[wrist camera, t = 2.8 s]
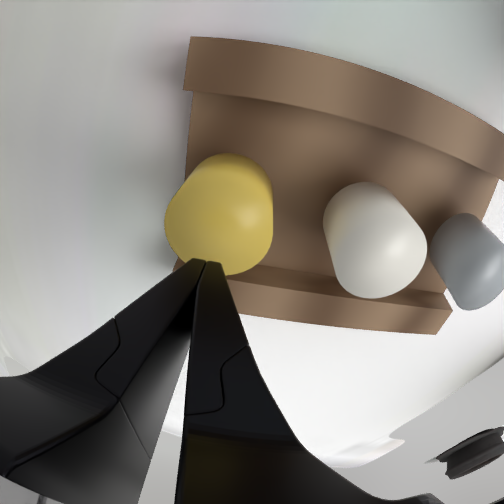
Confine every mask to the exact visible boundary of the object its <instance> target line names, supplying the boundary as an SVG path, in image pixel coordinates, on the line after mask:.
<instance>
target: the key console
mask: <svg viewBox="0 0 504 504" xmlns="http://www.w3.org/2000/svg"><path fill="white" fill-rule="evenodd" d="M183 90H186V91H193V99H192V108H191V116H190V126H189V135H188V146H187V157H186V170H185V181H186V180H187V178H188V177H189V176H190V174H191V173H192V172H193V171H194V169H195V168H196V167H197V166H198V165H199V164H200V163H201V162H202V161H204V160H205V159H207V158H209V157H211V156H214V155H217V154H222V153H234V154H239V155H243V156H246V157H248V158H250V159H252V160H253V161H255V162H256V163H258V164H259V165H260V166H261V167H262V168H263V169H264V171H265V172H266V173H267V175H268V177H269V179H270V181H271V184H272V188H273V237H272V242H271V245H270V248H269V250H268V252H267V253H266V255H265V256H264V258H263V259H262V260H261V261H260V262H259V263H258V264H256V265H255V266H254V267H252V268H250V269H248V270H246V271H244V272H241V273H238V274H233V275H225V276H226V279H227V282H228V285H229V288H230V291H231V294H232V297H233V300H234V302H235V305H236V308H237V311H238V313H239V314H246V315H252V316H258V317H265V318H272V319H279V320H286V321H293V322H301V323H309V324H317V325H325V326H334V327H343V328H353V329H363V330H374V331H386V332H399V333H414V334H431V335H436V334H437V332H438V331H439V330H440V328H441V327H442V325H443V324H444V323H445V321H446V320H447V318H448V317H449V316H450V314H451V313H452V311H453V310H452V308H451V306H450V305H449V303H448V301H447V299H446V297H445V296H444V294H443V293H444V291H445V290H446V288H447V287H446V285H445V283H444V282H443V280H442V279H441V277H440V275H439V274H438V272H437V271H436V269H435V267H434V266H433V264H432V263H431V260H430V254H429V253H430V245H431V242H432V239H433V237H434V235H435V233H436V232H437V230H438V229H439V227H440V226H441V225H442V224H443V223H444V222H445V221H446V220H448V219H449V218H451V217H452V216H454V215H457V214H460V213H470V214H473V215H475V216H476V217H477V218H478V219H479V220H480V221H481V222H482V219H483V217H484V215H485V213H486V210H487V208H488V206H489V203H490V201H491V198H492V196H493V193H494V191H495V188H496V185H497V183H498V180H499V179H501V180H502V181H504V134H503V133H502V132H500V131H499V130H497V129H496V128H494V127H493V126H491V125H489V124H488V123H486V122H484V121H483V120H481V119H479V118H478V117H476V116H474V115H472V114H471V113H469V112H467V111H465V110H464V109H462V108H460V107H458V106H456V105H454V104H452V103H450V102H448V101H446V100H444V99H442V98H440V97H438V96H436V95H434V94H432V93H430V92H427V91H425V90H423V89H421V88H419V87H416V86H414V85H412V84H409V83H407V82H404V81H402V80H399V79H397V78H394V77H392V76H389V75H386V74H383V73H381V72H378V71H375V70H372V69H369V68H366V67H363V66H360V65H357V64H354V63H350V62H347V61H343V60H340V59H336V58H333V57H329V56H325V55H321V54H317V53H313V52H308V51H304V50H299V49H294V48H289V47H284V46H278V45H273V44H266V43H260V42H252V41H244V40H235V39H225V38H212V37H191V38H190V44H189V50H188V57H187V64H186V71H185V79H184V86H183ZM359 182H372V183H376V184H379V185H381V186H383V187H385V188H386V189H388V190H389V191H390V192H391V193H392V194H393V195H394V196H395V198H396V199H397V200H398V201H399V202H400V203H401V205H402V206H403V207H404V208H405V210H406V211H407V212H408V213H409V214H410V216H411V217H412V218H413V219H414V221H415V222H416V223H417V224H418V226H419V227H420V228H421V230H422V231H423V233H424V235H425V238H426V242H427V254H426V259H425V262H424V265H423V267H422V269H421V270H420V272H419V274H418V275H417V276H416V278H415V279H414V280H413V281H412V282H411V283H410V284H408V285H407V286H406V287H405V288H403V289H402V290H400V291H398V292H396V293H394V294H392V295H389V296H386V297H382V298H362V297H358V296H355V295H353V294H351V293H349V292H348V291H346V290H345V289H344V288H343V287H342V286H341V284H340V283H339V281H338V279H337V276H336V273H335V270H334V266H333V262H332V258H331V254H330V251H329V247H328V243H327V240H326V236H325V233H324V229H323V216H324V212H325V209H326V207H327V205H328V203H329V202H330V200H331V199H332V197H333V196H334V195H335V194H336V193H338V192H339V191H340V190H341V189H343V188H345V187H347V186H349V185H351V184H354V183H359ZM183 264H185V262H184V261H183V260H182V259H180V258H179V257H178V259H177V262H176V264H175V266H174V268H173V272H174V271H175V270H177V269H178V268H179V267H181V266H182V265H183Z"/></svg>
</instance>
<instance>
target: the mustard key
mask: <svg viewBox="0 0 504 504" xmlns="http://www.w3.org/2000/svg"><path fill="white" fill-rule="evenodd" d="M164 227H165V233H166V237H167V240H168V242H169V244H170V246H171V248H172V249H173V251H174V252H175V253H176V254H177V256H178V257H179V258H180V259H182V260H183V261H184V262H185V263H186V262H187V261H189V260H190V259H192V258H198V259H203V260H206V262H207V261H215V262H220V263H221V264H222V267H223V270H224V273H225V275H233V274H238V273H241V272H244V271H246V270H248V269H250V268H252V267H254V266H255V265H256V264H258V263H259V262H260V261H261V260H262V259H263V258H264V256H265V255H266V253H267V252H268V250H269V248H270V245H271V242H272V237H273V188H272V184H271V181H270V179H269V177H268V175H267V173H266V172H265V171H264V169H263V168H262V167H261V166H260V165H259V164H258V163H256V162H255V161H253V160H252V159H250V158H248V157H246V156H243V155H239V154H234V153H222V154H217V155H214V156H211V157H209V158H207V159H205V160H204V161H202V162H201V163H200V164H199V165H198V166H197V167H196V168H195V169H194V171H193V172H192V173H191V174H190V176H189V177H188V178H187V180H186V181H185V182H184V184H183V185H182V186H181V187H180V189H179V190H178V191H177V193H176V194H175V196H174V197H173V198H172V200H171V201H170V203H169V205H168V207H167V210H166V213H165V220H164Z"/></svg>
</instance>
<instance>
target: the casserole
mask: <svg viewBox="0 0 504 504" xmlns="http://www.w3.org/2000/svg"><path fill="white" fill-rule="evenodd" d="M503 431H504V427H498V428H495V429H488V430H484V431H482V432H479V433H477V434H475V435H473V436H472V437H469V438H467V439H466V440H464V441H462V442H460V443H459V444H457V445H456V446H454V447H452V448H450V449H448V450H447V451H445V452H443V453H442V454H440V455H439V456H438V457H437V458H436V459H439V461H440V462H447V471H446V473H445V475H448V477H449V478H450V479H456V478H459V477H462V476H464V475H467V474H469V473H471V472H473V471H475V470H477V469H480V468H481V467H483V466H485V465H487V464H489V463H491V462H492V461H494V460H495V459H497V458H499V457H500V456H501V455H502V454H503V453H504V442H503V440H502V438H501V437H500V436H502V435H503Z"/></svg>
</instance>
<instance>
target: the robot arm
mask: <svg viewBox="0 0 504 504" xmlns="http://www.w3.org/2000/svg"><path fill="white" fill-rule="evenodd" d="M114 318H115V319H114ZM114 318H112V319H110V320H109V321H108V322H106V323H105V324H104V325H102V326H101V327H100V328H98V329H97V330H96V331H94V332H93V333H92V334H90V335H89V336H87V337H86V338H84V339H83V340H81V341H80V342H78V343H77V344H75V345H74V346H72V347H70V348H69V349H67V350H66V351H64V352H62V353H61V354H59V355H58V356H56V357H54V358H53V359H51V360H50V361H48V362H46V363H45V364H43V365H42V366H40V367H39V368H37V369H35V370H33V371H31V372H29V373H26V374H23V375H19V376H13V377H0V504H138V501H139V497H140V494H141V491H142V488H143V484H144V481H145V478H146V475H147V472H148V468H149V465H150V462H151V459H152V456H153V453H154V449H155V447H156V443H157V440H158V437H159V434H160V431H161V428H162V425H163V422H164V419H165V416H166V413H167V410H168V407H169V404H170V401H171V399H172V396H173V393H174V390H175V387H176V384H177V381H178V378H179V375H180V372H181V370H182V367H183V364H184V361H185V358H186V355H187V352H188V350H189V359H188V370H187V382H186V394H185V407H184V421H183V434H182V444H181V451H180V459H179V467H178V475H177V484H176V493H175V502H174V504H444V503H443V502H441V501H440V500H439V499H438V498H436V497H435V496H434V495H432V494H431V493H427V494H421V495H417V496H413V497H409V498H405V499H400V500H385V499H381V498H378V497H374V496H372V495H370V494H368V493H367V492H365V491H363V490H362V489H360V488H359V487H357V486H356V485H354V484H353V483H351V482H350V481H348V480H347V479H345V478H344V477H342V476H341V475H340V474H338V473H337V472H335V471H334V470H333V469H331V468H330V467H328V466H327V465H326V464H324V463H323V462H322V461H320V460H319V459H318V458H316V457H315V456H314V455H312V454H311V453H310V452H309V451H308V450H307V449H306V448H305V447H304V446H303V445H302V444H301V443H300V441H299V440H298V439H297V437H296V436H295V434H294V433H293V431H292V429H291V428H290V426H289V424H288V423H287V421H286V419H285V418H284V416H283V414H282V412H281V411H280V409H279V407H278V405H277V404H276V402H275V400H274V398H273V397H272V395H271V393H270V391H269V389H268V387H267V385H266V383H265V381H264V379H263V377H262V375H261V374H260V371H259V369H258V366H257V364H256V361H255V359H254V356H253V354H252V351H251V348H250V346H249V343H248V340H247V337H246V334H245V331H244V329H243V326H242V323H241V320H240V317H239V314H238V311H237V308H236V305H235V302H234V300H233V297H232V294H231V291H230V288H229V285H228V282H227V279H226V276H225V273H224V270H223V267H222V264H221V263H220V262H215V261H207V262H206V260H203V259H198V258H192V259H190V260H189V261H187V262H186V263H185V264H183V265H182V266H181V267H179V268H178V269H177V270H175V271H174V272H172V273H171V274H170V275H168V276H167V277H166V278H164V279H163V280H162V281H160V282H159V283H158V284H156V285H155V286H154V287H152V288H151V289H150V290H148V291H147V292H146V293H144V294H143V295H142V296H140V297H139V298H138V299H136V300H135V301H134V302H133V303H131V304H130V305H129V306H127V307H126V308H125V309H123V310H122V311H121V312H119V313H118V314H117V315H116V316H115V317H114ZM189 347H190V349H189ZM490 504H504V497H503V498H501V499H499V500H497V501H495V502H492V503H490Z"/></svg>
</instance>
